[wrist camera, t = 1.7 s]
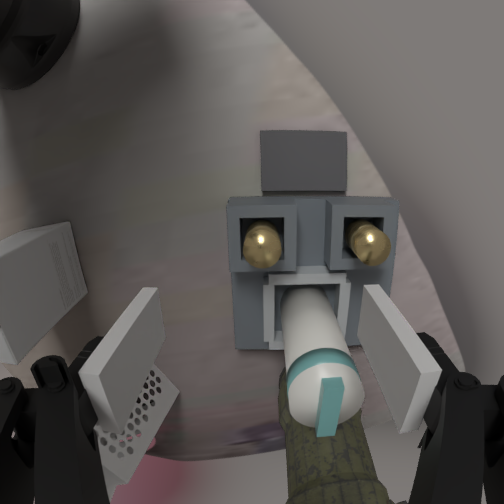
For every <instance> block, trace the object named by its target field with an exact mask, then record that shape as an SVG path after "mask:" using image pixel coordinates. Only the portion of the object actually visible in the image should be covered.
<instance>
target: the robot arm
mask: <svg viewBox="0 0 504 504" xmlns="http://www.w3.org/2000/svg"><path fill="white" fill-rule="evenodd" d="M78 15H79V0H0V88H3V89H11V90H15V89H21V88H24V87H26V86H28V85H30V84H32V83H34V82H35V81H37V80H38V79H39V78H41V77H42V76H43V75H44V74H45V73H46V72H47V71H48V70H49V69H50V68H51V67H52V66H53V65H54V64H55V62H56V61H57V60H58V59H59V57H60V56H61V54H62V53H63V51H64V50H65V48H66V46H67V45H68V43H69V41H70V39H71V37H72V35H73V32H74V30H75V27H76V24H77V20H78ZM357 336H358V339H359V341H360V343H361V345H362V347H363V350H364V352H365V354H366V356H367V359H368V361H369V363H370V365H371V368H372V370H373V372H374V374H375V377H376V379H377V381H378V384H379V386H380V388H381V391H382V393H383V395H384V398H385V400H386V403H387V405H388V407H389V410H390V412H391V415H392V417H393V419H394V422H395V424H396V427H397V429H398V432H399V433H404V432H410V431H415V430H418V429H419V427H420V425H421V423H422V420H423V418H424V420H425V422H426V424H427V426H428V427H427V429H426V431H425V433H424V435H423V437H422V439H421V442H420V443H419V446H418V448H421V446H422V448H421V453H420V458H419V462H418V467H417V471H416V476H415V480H414V484H413V488H412V491H411V495H410V499H409V503H408V504H481V497H482V487H483V485H484V490H485V496H486V502H487V504H504V375H503V376H502V377H501V378H500V381H499V383H498V385H481V383H480V381H479V380H478V379H477V378H476V377H475V376H473V375H472V374H469V373H465V372H459V371H458V369H457V368H456V367H455V365H454V364H453V363H452V361H451V360H450V359H449V357H448V356H447V355H446V353H444V351H443V350H442V348H441V347H440V346H439V344H438V343H437V342H436V340H435V339H434V338H433V337H431V336H429V335H428V334H426V333H425V332H422V333H415V331H414V330H413V329H412V327H411V326H410V324H409V323H408V322H407V320H406V319H405V318H404V316H403V315H402V314H401V312H400V311H399V310H398V309H397V307H396V306H395V305H394V303H393V302H392V301H391V299H390V298H389V297H388V295H387V294H386V293H385V292H384V290H383V289H382V288H381V287H380V285H379V284H376V285H364V287H363V295H362V304H361V311H360V319H359V326H358V333H357ZM165 339H166V334H165V329H164V323H163V317H162V310H161V304H160V297H159V291H158V288H151V287H143V288H142V289H141V291H140V292H139V293H138V294H137V296H136V297H135V298H134V299H133V301H132V302H131V303H130V304H129V306H128V307H127V308H126V310H125V311H124V312H123V313H122V315H121V316H120V317H119V318H118V320H117V321H116V322H115V324H114V325H113V326H112V328H111V329H110V330H109V331H108V333H107V334H106V335H105V337H100V336H97V337H96V338H94V339H93V340H91V341H90V342H88V343H87V345H86V346H85V347H84V348H83V351H81V352H80V353H79V355H78V357H76V359H75V360H74V361H73V362H72V364H71V365H70V366H69V368H68V367H67V364H66V362H65V359H63V358H62V357H60V356H56V355H51V356H46V357H42V358H41V359H39V360H37V361H36V362H35V363H34V364H33V365H32V367H31V372H32V374H33V376H34V379H35V381H36V383H37V385H38V387H39V388H26V389H24V386H23V384H22V382H21V381H20V380H19V379H18V378H15V377H8V378H4V379H2V380H0V504H33V501H34V496H35V504H110V501H109V497H108V493H107V488H106V483H105V479H104V474H103V468H102V463H101V457H100V451H99V445H98V438H97V434H96V432H95V430H94V427H95V425H96V423H97V421H99V424H100V426H101V428H102V430H103V431H107V432H112V433H117V434H122V432H123V430H124V428H125V426H126V423H127V421H128V419H129V417H130V414H131V412H132V410H133V408H134V405H135V403H136V401H137V399H138V397H139V394H140V392H141V390H142V388H143V386H144V383H145V381H146V379H147V377H148V375H149V373H150V370H151V368H152V366H153V364H154V362H155V360H156V358H157V356H158V353H159V351H160V349H161V347H162V345H163V343H164V341H165ZM13 431H14V432H15V436H14V437H13V438H12V437H11V436H12V432H13Z"/></svg>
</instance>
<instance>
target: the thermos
mask: <svg viewBox="0 0 504 504" xmlns="http://www.w3.org/2000/svg"><path fill="white" fill-rule="evenodd" d="M279 389H280V390H279V396H278V406H279V423H280V425H281V426H282V428H283V430H284V431H285V441H286V458H287V477H288V497H289V498H288V500H287V502H286V504H394V502H393V501H392V500H389V497H388V493H387V489H386V488H385V487H384V486H383V484H382V483H381V482H380V481H379V480H378V478H377V475H376V471H375V468H374V464H373V460H372V457H371V453H370V451H369V447H368V443H367V440H366V437H365V433H364V430H363V427H362V423H361V420H360V418H361V412H362V411H361V408H360V409H359V410H358V412H357V413H356V414H355V415H354V416H352V417H351V418H350V419H348V420H346V421H344V422H342V423H340V424H338V425H337V428H336V433H335V436H325V437H316V430H315V427H309V426H305V425H303V424H301V423H299V422H298V421H296V420H295V419H294V418H293V416H292V415H291V413H290V409H289V400H288V395H287V383H286V367H285V368H284V369H283V371H282V373H281V375H280V378H279ZM397 504H408V503H407V502H406V501H402V502H399V503H397Z"/></svg>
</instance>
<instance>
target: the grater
mask: <svg viewBox="0 0 504 504" xmlns="http://www.w3.org/2000/svg"><path fill="white" fill-rule="evenodd" d="M151 370H153V371H154V373H155V376H154V377H152V376H151V375H150V373H149V375H148V377H149V379H148V380H146V381H145V382H146V383H147V384H148V389H145V388H144V387H143V388H142V392H141V393H140V394H139V398H140V399H141V403H140V404H138V403H135V405H134V408H133V410H132V412H131V414H130V417H129V419H128V421H127V423H126V426H125V428H124V430H123V432H122V434H117V433H112V432H107V431H103V430H102V428H101V426H100V424H99V421H97V423H96V425H95V427H94V430H95V432H96V434H97V438H98V445H99V451H100V457H101V463H102V468H103V474H104V479H105V483H106V488H107V493H108V497H109V501H110V502H111V499H112V496H113V493H114V491H115V488H116V485H121V484H128V483H129V481H130V479H131V477H132V475H133V474H134V472H135V470H136V468H137V467H138V465H139V463H140V461H141V460H142V458H143V456H144V454H145V452H146V451H147V449H148V447H149V445H150V444H151V442H152V440H153V438H154V436H155V435H156V433H157V431H158V429H159V428H160V426H161V424H162V422H163V421H164V419H165V417H166V415H167V413H168V412H169V410H170V408H171V406H172V405H173V403H174V401H175V399H176V397H177V396H178V394H179V392H180V391H179V390H178V389H177V387H176V386H175V385H174V384H173V383H172V382H171V381H170V380H169V379H168V378H167V377H166V376H165V375H164V374H163V373H162V372H161V371H160V369H159V368H158V367H157V366H156V365H155V364H153V366H152V368H151ZM156 377H160V379H161V382H160V383H158V382H157V381H156ZM151 380H153V381H154V382H155V387H152V386H151V385H150V381H151ZM156 387H160V388H161V393H158V392H157V391H156ZM150 389H153V390H154V392H155V395H154V396H152V395H151V394H150V392H149V390H150ZM144 393H147V394H148V396H149V399H148V400H145V399H144V397H143V394H144ZM151 399H153V400H154V401H155V402H152V403H150V400H151ZM143 403H145V404H146V405H145V406H142V404H143ZM136 408H137V409H136ZM144 414H145V415H146V416H143V415H144ZM142 416H143V417H142ZM135 418H138V419H135ZM139 433H141V436H140V437H137V436H136V434H139ZM129 436H132V437H133V439H130V440H127V439H126V437H129ZM120 440H124V441H123V442H119V441H120Z"/></svg>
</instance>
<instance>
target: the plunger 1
mask: <svg viewBox="0 0 504 504" xmlns="http://www.w3.org/2000/svg"><path fill="white" fill-rule="evenodd" d="M281 251H282V249H281V243H280V238H279V232H278V229H277V228H276V226H275V225H274V224H273V223H271V222H270V221H267V220H257V221H255V222H253V223H252V224H251V225H250V226H249V227H248V229H247V231H246V235H245V240H244V246H243V254H244V257H245V259H246V261H247V262H248V263H249V264H250V265H252V266H254V267H256V268H268V267H271V266H273V265H274V264H275V263H276V262H277V261H278V260H279V258H280V256H281Z"/></svg>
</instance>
